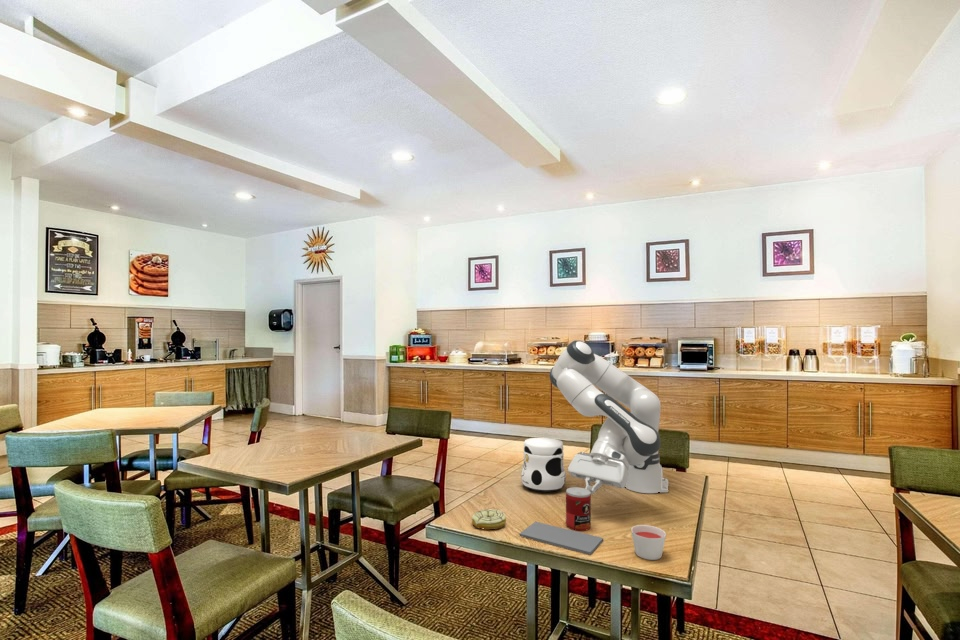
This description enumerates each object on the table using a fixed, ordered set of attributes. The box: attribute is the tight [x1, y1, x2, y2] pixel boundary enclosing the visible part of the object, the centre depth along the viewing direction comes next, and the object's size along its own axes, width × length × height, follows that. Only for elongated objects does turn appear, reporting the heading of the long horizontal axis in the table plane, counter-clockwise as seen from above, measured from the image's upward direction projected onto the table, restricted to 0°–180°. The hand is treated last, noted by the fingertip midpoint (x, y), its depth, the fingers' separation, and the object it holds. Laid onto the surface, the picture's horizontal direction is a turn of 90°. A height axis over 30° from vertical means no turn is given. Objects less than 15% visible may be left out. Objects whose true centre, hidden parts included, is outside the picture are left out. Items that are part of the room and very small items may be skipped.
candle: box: [630, 524, 667, 561], centre depth 132 cm, size 9×9×6 cm
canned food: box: [565, 486, 592, 532], centre depth 151 cm, size 8×8×11 cm
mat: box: [518, 521, 604, 556], centre depth 142 cm, size 11×22×1 cm, turn 58°
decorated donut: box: [471, 508, 507, 530], centre depth 152 cm, size 10×11×4 cm
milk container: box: [520, 437, 567, 493], centre depth 188 cm, size 17×17×18 cm
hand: (589, 492), depth 157 cm, fingers closed
